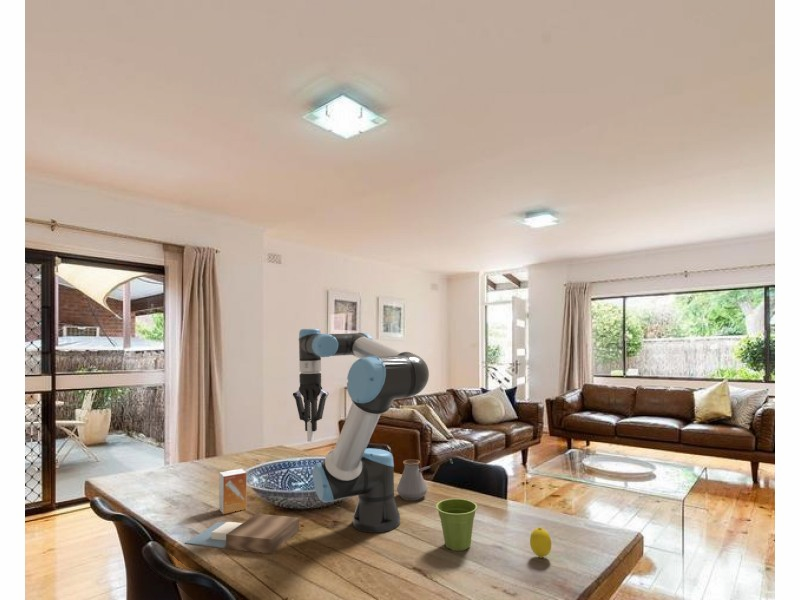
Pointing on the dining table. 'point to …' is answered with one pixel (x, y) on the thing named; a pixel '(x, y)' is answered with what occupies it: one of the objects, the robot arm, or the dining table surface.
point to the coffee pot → (414, 480)
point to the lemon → (540, 542)
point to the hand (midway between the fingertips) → (311, 440)
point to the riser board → (262, 533)
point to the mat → (208, 538)
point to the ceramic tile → (224, 530)
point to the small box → (232, 491)
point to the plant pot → (457, 522)
